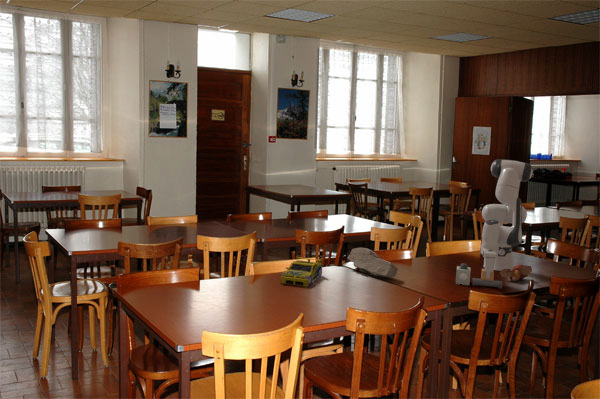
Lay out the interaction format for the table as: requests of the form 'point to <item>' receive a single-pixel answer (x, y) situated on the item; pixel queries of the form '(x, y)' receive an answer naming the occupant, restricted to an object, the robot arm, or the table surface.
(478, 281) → the rail
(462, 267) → the plunger
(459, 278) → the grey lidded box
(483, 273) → the carriage
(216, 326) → the table surface
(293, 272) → the toy car
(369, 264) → the stone block
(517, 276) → the figurine
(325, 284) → the table surface
